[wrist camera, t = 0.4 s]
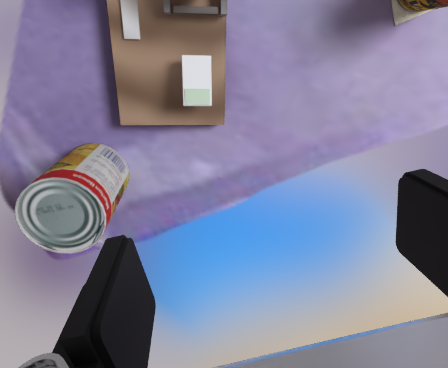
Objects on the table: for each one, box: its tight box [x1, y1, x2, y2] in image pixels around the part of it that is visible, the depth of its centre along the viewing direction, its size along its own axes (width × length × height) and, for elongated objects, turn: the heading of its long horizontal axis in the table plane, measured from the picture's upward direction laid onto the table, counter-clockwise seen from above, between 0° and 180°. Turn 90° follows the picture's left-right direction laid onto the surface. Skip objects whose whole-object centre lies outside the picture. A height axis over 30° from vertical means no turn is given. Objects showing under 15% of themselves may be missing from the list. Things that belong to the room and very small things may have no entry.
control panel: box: [107, 0, 227, 125], centre depth 32 cm, size 21×12×4 cm, turn 179°
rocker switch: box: [182, 55, 212, 106], centre depth 32 cm, size 5×3×1 cm, turn 179°
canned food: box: [15, 143, 129, 254], centre depth 33 cm, size 8×8×12 cm
